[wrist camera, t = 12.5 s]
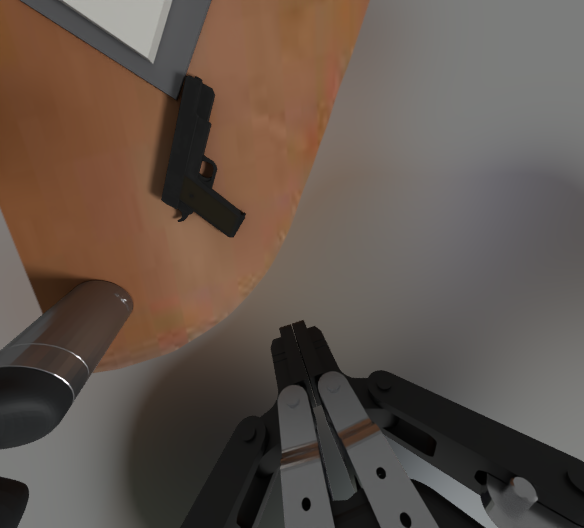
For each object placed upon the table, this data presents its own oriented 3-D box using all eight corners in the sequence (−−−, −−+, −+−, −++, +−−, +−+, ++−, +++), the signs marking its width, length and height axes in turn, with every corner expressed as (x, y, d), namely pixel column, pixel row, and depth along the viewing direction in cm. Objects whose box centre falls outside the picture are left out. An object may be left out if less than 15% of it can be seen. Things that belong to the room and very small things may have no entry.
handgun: (279, 119, 31) (187, 69, 27) (237, 242, 37) (157, 218, 33) (275, 121, 33) (191, 76, 29) (236, 236, 40) (163, 213, 36)
